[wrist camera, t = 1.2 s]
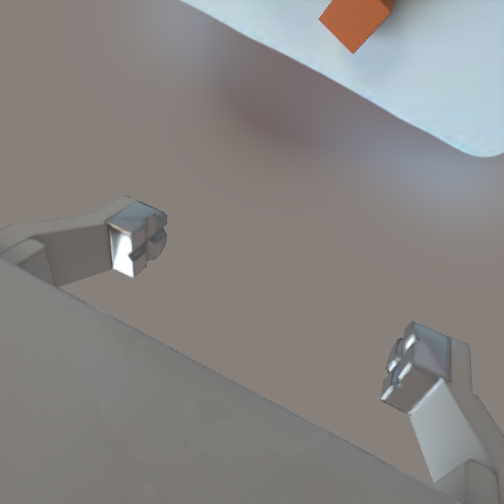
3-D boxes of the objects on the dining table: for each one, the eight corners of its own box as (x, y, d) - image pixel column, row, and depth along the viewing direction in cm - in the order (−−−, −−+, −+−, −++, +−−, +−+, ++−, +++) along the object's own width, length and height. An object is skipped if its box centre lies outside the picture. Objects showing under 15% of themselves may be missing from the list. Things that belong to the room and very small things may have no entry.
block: (329, 4, 35) (318, 19, 33) (363, -41, 32) (354, -28, 29) (361, 37, 36) (352, 54, 34) (397, -3, 33) (391, 12, 30)
